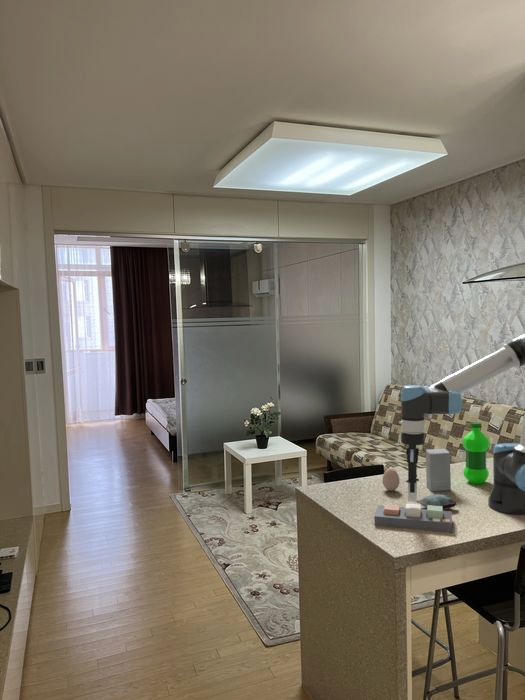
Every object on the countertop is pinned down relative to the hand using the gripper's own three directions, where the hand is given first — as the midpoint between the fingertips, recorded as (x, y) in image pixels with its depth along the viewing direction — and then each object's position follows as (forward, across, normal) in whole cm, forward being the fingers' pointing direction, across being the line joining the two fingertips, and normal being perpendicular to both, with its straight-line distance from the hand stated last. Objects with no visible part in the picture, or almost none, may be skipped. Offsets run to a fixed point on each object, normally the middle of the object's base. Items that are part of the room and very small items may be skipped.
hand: (412, 500), depth 179 cm
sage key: (+6, 0, +7) cm, 9 cm away
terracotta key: (+7, 0, -7) cm, 10 cm away
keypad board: (+8, 0, 0) cm, 8 cm away
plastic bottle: (+7, -52, +23) cm, 58 cm away
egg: (+8, -32, -10) cm, 34 cm away
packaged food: (+8, -16, +8) cm, 20 cm away
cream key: (+6, 0, 0) cm, 6 cm away
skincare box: (+8, -39, +8) cm, 41 cm away
